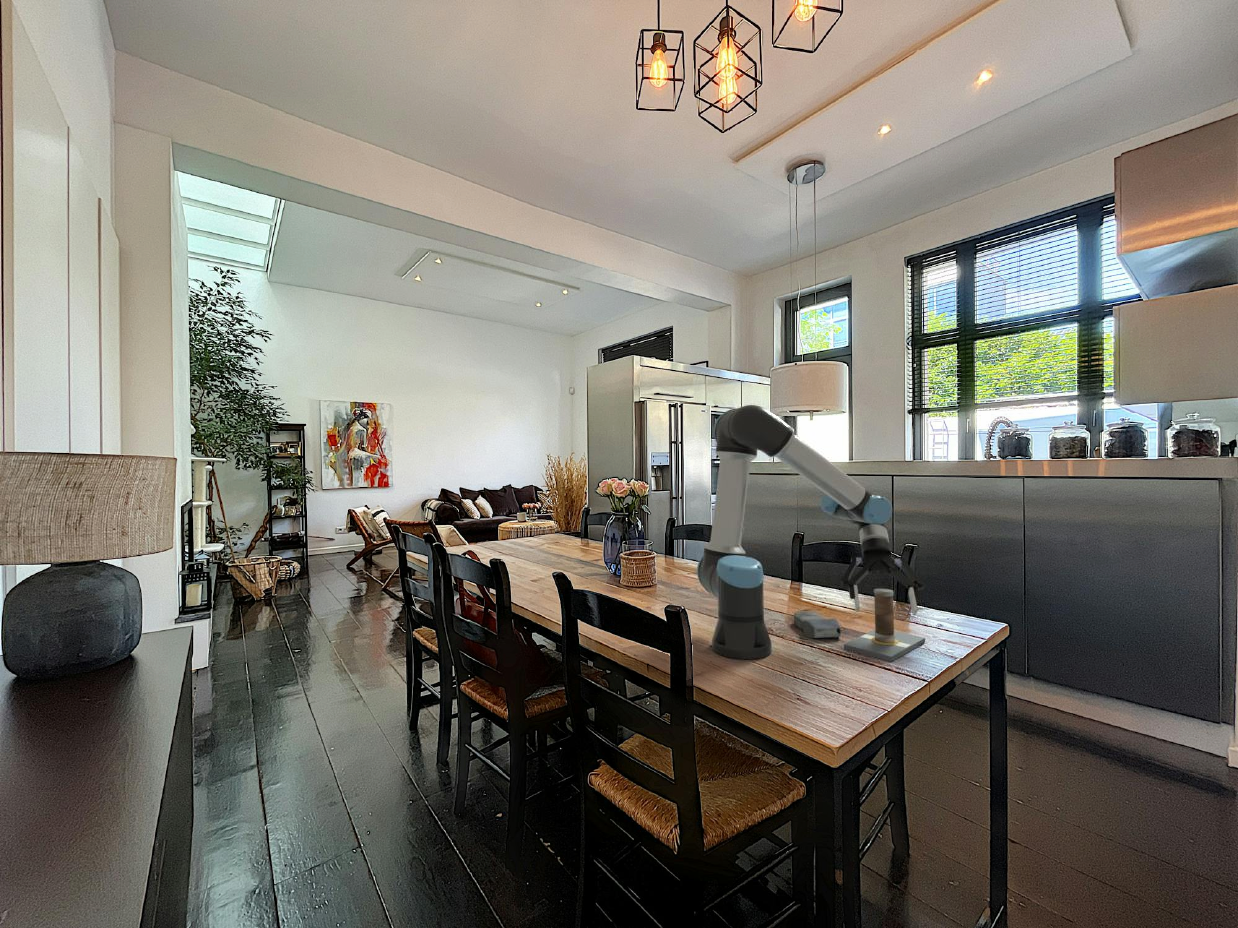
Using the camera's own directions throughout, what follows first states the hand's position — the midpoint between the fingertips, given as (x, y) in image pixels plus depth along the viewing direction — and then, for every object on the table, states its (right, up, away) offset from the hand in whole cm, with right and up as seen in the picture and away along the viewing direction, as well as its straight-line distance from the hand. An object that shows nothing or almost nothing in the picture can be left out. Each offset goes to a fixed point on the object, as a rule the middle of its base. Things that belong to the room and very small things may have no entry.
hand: (886, 610), depth 139 cm
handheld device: (-13, -10, +16) cm, 23 cm away
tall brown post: (0, -8, +1) cm, 8 cm away
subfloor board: (0, -9, +1) cm, 9 cm away
